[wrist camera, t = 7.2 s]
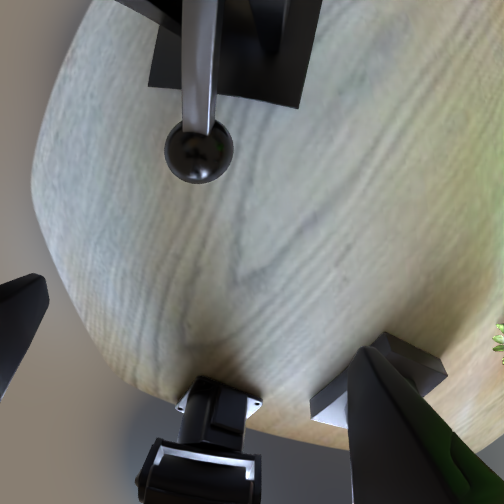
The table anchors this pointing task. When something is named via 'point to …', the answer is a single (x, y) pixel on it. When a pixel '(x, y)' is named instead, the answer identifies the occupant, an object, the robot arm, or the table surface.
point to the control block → (402, 359)
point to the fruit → (499, 340)
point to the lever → (199, 99)
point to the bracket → (242, 47)
